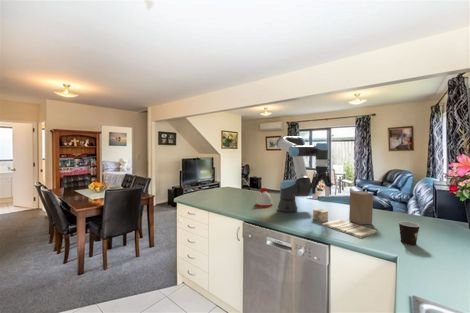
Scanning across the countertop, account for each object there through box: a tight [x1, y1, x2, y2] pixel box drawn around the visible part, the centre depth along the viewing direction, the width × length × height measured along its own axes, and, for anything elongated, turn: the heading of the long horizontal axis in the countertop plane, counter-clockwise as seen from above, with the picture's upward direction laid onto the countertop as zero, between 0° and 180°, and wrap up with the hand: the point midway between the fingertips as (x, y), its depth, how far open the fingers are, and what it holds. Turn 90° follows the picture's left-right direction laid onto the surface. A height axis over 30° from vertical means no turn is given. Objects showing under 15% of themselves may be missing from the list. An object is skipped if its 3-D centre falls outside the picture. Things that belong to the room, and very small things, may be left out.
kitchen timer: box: [255, 187, 273, 208], centre depth 198 cm, size 14×14×15 cm
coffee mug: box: [398, 220, 420, 247], centre depth 121 cm, size 12×9×10 cm
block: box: [348, 190, 374, 226], centre depth 154 cm, size 10×10×20 cm
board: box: [321, 218, 377, 239], centre depth 142 cm, size 25×16×1 cm, turn 34°
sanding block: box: [312, 208, 329, 223], centre depth 158 cm, size 8×5×7 cm, turn 34°
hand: (320, 197), depth 157 cm, fingers open, 13 cm apart
